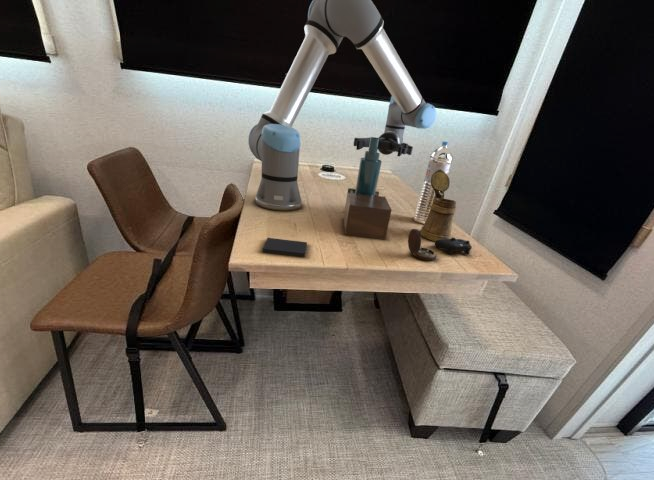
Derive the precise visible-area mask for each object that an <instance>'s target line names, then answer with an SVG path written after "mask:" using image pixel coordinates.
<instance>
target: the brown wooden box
mask: <svg viewBox="0 0 654 480" xmlns="http://www.w3.org/2000/svg"><path fill="white" fill-rule="evenodd" d="M347 192H348V191H347ZM346 199H347V202H346V201H345V205H346V208H345V207H344V216H343V227H344V235H345V236H352V237H362V238H368V239H369V238H370V239H379V240H386V237H387V234H388V233H387V232H388V228H389V225H390V220H391V215H392V211H393V209H392V208H391V206H390V204H389V201H388V200H387V198H386V196H380V195H379V196H373V195H365V194H357V193H349V192H348V195H347V194H346Z"/></svg>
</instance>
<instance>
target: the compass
mask: <svg viewBox="0 0 654 480" xmlns="http://www.w3.org/2000/svg"><path fill="white" fill-rule="evenodd" d="M421 245H422V236H421V234H420V228H412V229H410V231H409V233H408V236H407V246H408V249H409V252H410V253H412V256H414V257H415V258H417V259H419V260H423V261H430V262H431V261H434V260H436V259H437V254H436V252H435V251H434V250H433V249H431V248H427V247H422V246H421Z"/></svg>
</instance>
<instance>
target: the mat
mask: <svg viewBox="0 0 654 480" xmlns="http://www.w3.org/2000/svg"><path fill="white" fill-rule="evenodd" d="M307 247H308V242H306V241H299V240H290V239H282V238H274V237H267V239H266V240H265V242H264V245H263V247H262V253H265V254H274V255H283V256H289V257H290V256H292V257H298V258H305V257H306V251H307Z"/></svg>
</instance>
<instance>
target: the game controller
mask: <svg viewBox="0 0 654 480" xmlns="http://www.w3.org/2000/svg"><path fill="white" fill-rule="evenodd" d="M434 246H435V247H436V248H437V249H442V250H445V251H446V252H447V254H449V255H453V253H454V252H463V253H464V255H469V254H470V252H471V250H472V245H471V244H470V241H469V240H465V239H462V238H456V237H451V238H450V239H440V240H437V241H434Z"/></svg>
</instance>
